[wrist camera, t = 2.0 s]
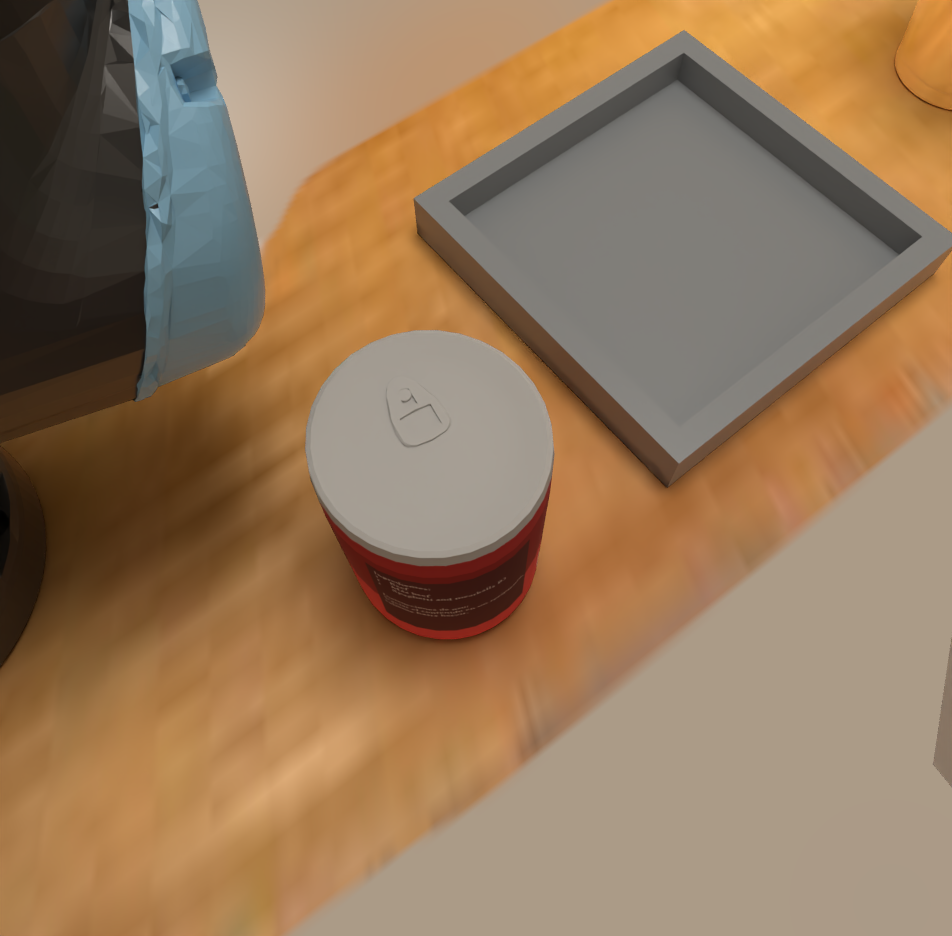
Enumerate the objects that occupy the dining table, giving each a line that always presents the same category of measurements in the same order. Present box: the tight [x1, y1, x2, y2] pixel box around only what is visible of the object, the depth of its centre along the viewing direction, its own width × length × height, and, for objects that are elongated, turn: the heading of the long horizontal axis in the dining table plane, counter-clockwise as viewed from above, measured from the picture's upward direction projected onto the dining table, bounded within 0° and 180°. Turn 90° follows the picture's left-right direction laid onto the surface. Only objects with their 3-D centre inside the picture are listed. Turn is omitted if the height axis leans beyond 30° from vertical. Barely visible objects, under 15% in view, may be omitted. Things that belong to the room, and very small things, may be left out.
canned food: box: [305, 330, 554, 639], centre depth 31 cm, size 8×8×11 cm
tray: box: [414, 30, 952, 487], centre depth 41 cm, size 18×18×2 cm
